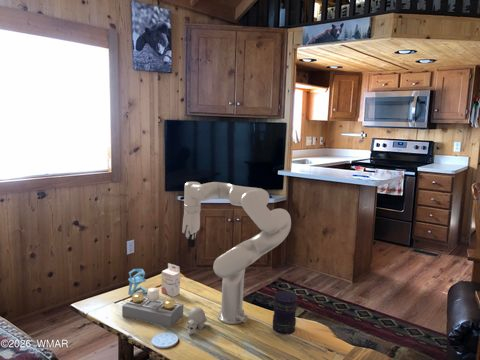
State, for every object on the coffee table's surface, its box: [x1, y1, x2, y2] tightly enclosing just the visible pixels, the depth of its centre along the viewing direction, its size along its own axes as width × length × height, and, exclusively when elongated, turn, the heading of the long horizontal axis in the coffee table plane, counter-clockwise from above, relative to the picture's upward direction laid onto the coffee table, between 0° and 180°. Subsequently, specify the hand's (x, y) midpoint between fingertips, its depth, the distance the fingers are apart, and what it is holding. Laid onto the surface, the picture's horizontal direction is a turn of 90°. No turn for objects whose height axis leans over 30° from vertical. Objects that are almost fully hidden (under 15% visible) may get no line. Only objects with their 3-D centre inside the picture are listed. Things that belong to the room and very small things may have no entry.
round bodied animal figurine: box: [186, 306, 207, 336], centre depth 158 cm, size 7×12×8 cm, turn 159°
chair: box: [127, 268, 148, 297], centre depth 190 cm, size 8×8×12 cm
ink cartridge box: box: [161, 262, 181, 298], centre depth 190 cm, size 9×5×15 cm, turn 58°
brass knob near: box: [163, 298, 176, 311], centre depth 165 cm, size 5×5×3 cm
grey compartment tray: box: [121, 295, 184, 328], centre depth 168 cm, size 24×12×6 cm, turn 72°
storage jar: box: [272, 290, 298, 336], centre depth 161 cm, size 10×10×15 cm
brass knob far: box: [131, 292, 145, 304], centre depth 170 cm, size 5×5×3 cm
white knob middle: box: [147, 287, 160, 301], centre depth 167 cm, size 5×5×4 cm
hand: (191, 246), depth 176 cm, fingers closed
